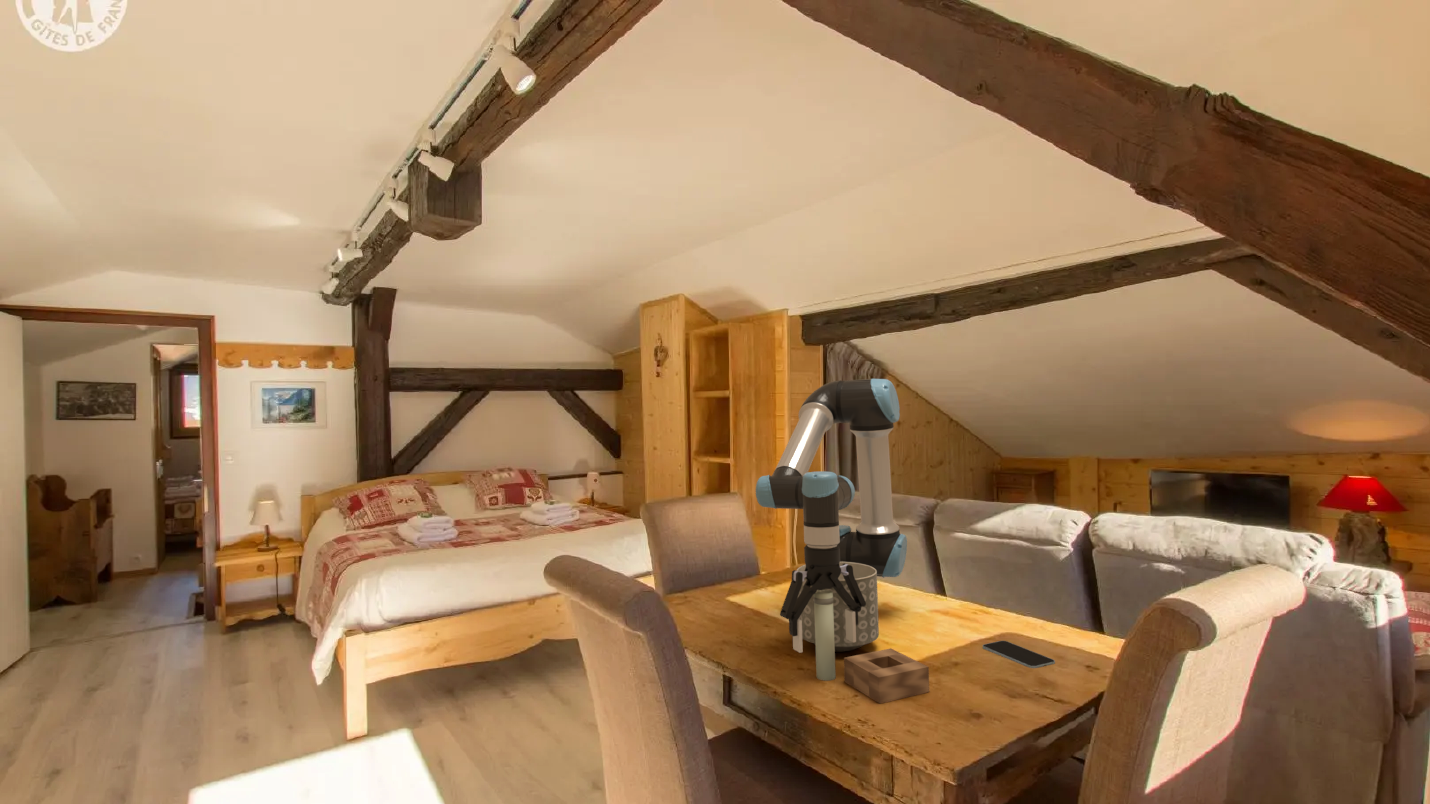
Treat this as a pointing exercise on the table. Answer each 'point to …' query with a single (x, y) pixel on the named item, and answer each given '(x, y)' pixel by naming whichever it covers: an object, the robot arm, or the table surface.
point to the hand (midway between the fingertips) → (825, 645)
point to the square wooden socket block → (886, 675)
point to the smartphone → (1018, 654)
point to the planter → (866, 617)
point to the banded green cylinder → (824, 635)
